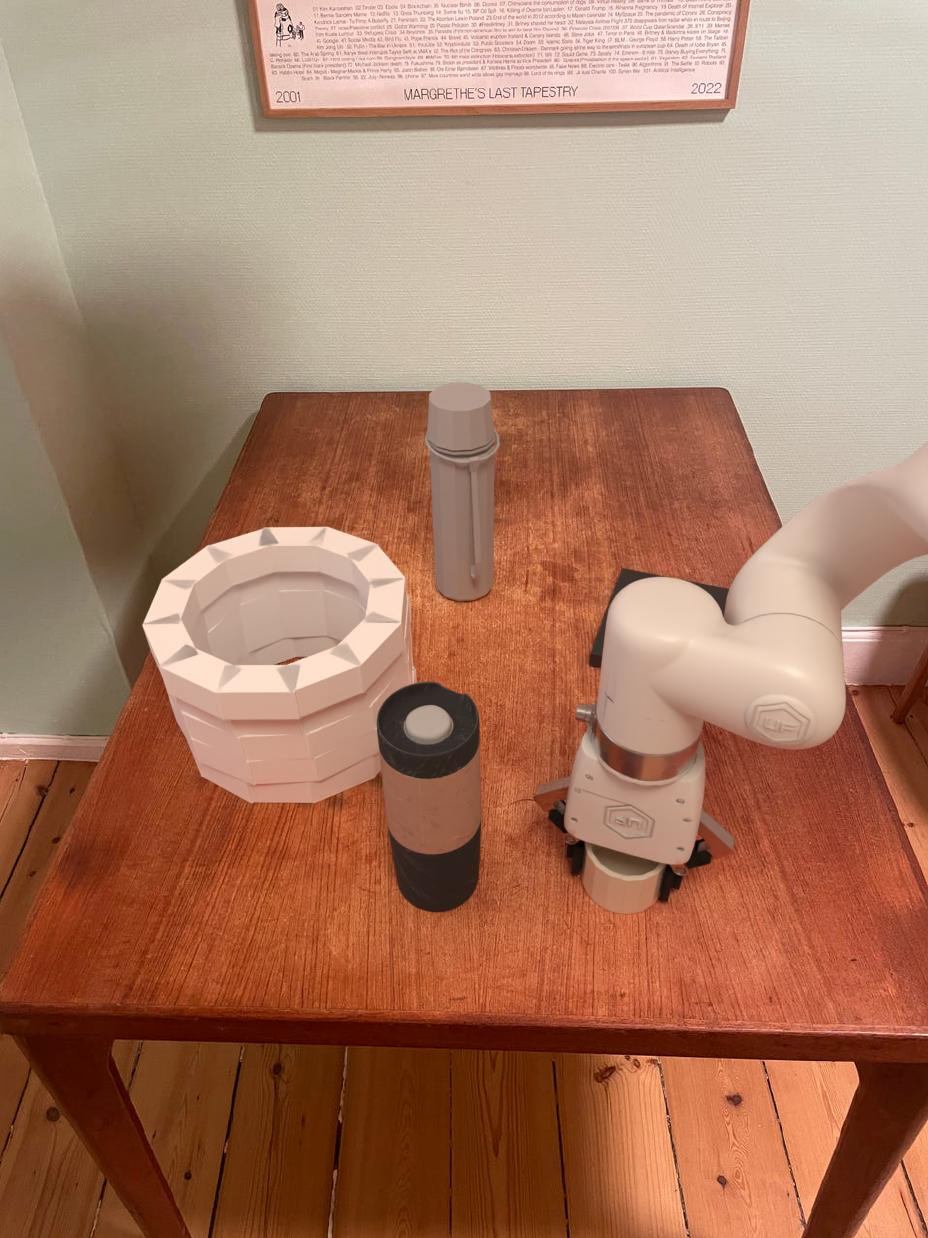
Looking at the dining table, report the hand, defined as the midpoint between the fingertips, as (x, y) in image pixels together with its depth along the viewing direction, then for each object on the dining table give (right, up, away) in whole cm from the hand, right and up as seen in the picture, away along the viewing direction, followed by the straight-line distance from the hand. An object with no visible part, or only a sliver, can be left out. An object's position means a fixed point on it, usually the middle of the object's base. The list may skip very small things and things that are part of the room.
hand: (622, 873), depth 76 cm
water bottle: (-13, +25, +31) cm, 42 cm away
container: (-30, +12, +16) cm, 36 cm away
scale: (+9, +20, +25) cm, 33 cm away
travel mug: (-16, -1, +1) cm, 16 cm away
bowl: (0, -1, +1) cm, 1 cm away
